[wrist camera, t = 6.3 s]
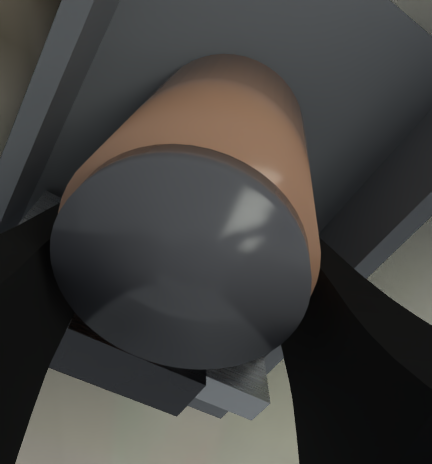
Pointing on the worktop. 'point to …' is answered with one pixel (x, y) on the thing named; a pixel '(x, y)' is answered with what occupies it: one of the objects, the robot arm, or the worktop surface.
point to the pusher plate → (154, 368)
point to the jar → (195, 221)
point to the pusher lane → (279, 60)
